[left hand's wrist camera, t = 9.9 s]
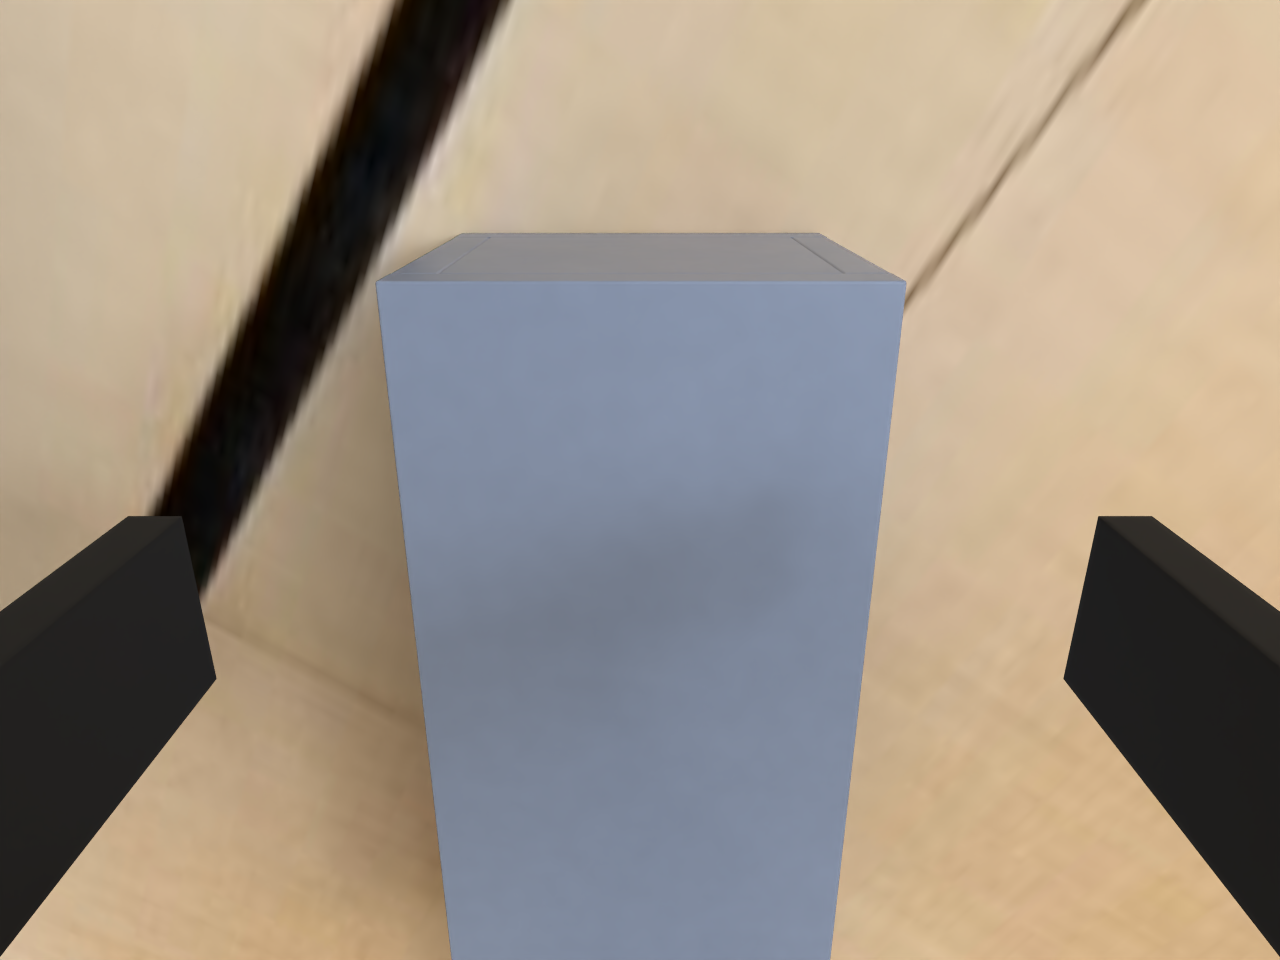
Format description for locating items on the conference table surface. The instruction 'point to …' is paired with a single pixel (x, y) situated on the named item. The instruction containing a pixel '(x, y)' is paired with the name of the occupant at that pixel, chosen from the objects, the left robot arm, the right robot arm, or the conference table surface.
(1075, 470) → the conference table surface
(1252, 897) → the left robot arm
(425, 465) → the cabinet
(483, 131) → the conference table surface
